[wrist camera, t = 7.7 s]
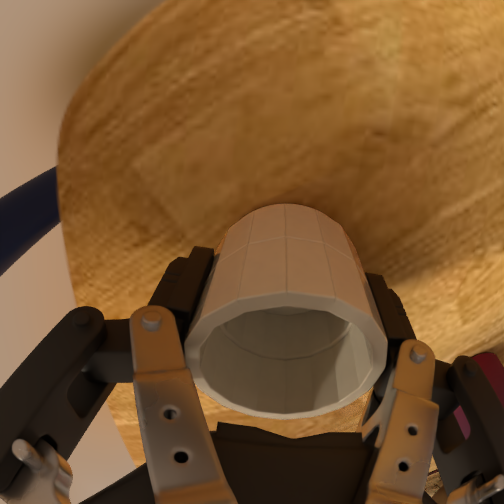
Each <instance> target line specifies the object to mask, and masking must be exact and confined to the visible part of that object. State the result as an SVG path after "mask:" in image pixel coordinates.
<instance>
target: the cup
mask: <svg viewBox="0 0 504 504" xmlns="http://www.w3.org/2000/svg"><path fill="white" fill-rule="evenodd" d="M472 359H474V360H475V361H476V362H477V363H478V364H479V365H480V367H481V369H482V370H483V372H484V374H485V375H486V377H487V379H488V380H489V382H490V384H491V386H492V387H493V389H494V391H495V393H496V395H497V396H498V398H499V400H500V402H501V404H502V406H503V408H504V367H503V366H502V364H501V362H500V361H499V359H498V357H497V356H496V355H495V354H494V353H483V354H479V355H476V356H474V357H472ZM453 413H454V415H455V417H456V419H457V421H458V424H459V426H460V428H461V430H462V432H463V435H464V437H465V439H467V438H468V437H469V435H470V425H469V423H468V420H467V418H466V416H465V414H464V412H463V410H462V408H461V406H459V407H458V408H457V409H456V410H455V411H454V412H453Z"/></svg>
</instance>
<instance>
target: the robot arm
mask: <svg viewBox="0 0 504 504" xmlns="http://www.w3.org/2000/svg"><path fill="white" fill-rule="evenodd" d="M213 258H214V249H211V248H205V247H198V246H194V248H193V250H192V252H191V254H190V256H189V258H184V257H178V258H177V259H175V260H174V261H172V262H171V263H170V264H169V266H168V267H167V269H166V271H165V274H164V275H163V277H162V279H161V281H160V282H159V284H158V286H157V288H156V290H155V292H154V294H153V296H152V297H151V299H150V301H149V303H148V305H147V306H144V307H141V308H139V309H137V310H136V311H135V312H134V313H133V314H132V315H131V317H130V318H129V319H120V320H104V316H103V314H102V313H101V311H99V310H98V309H96V308H94V307H90V306H83V307H78V308H75V309H73V310H72V311H70V312H69V313H68V314H66V316H65V317H64V318H63V319H62V320H61V321H60V322H59V323H58V324H57V325H56V326H55V327H54V328H53V329H52V330H51V331H50V332H49V333H48V335H47V336H46V337H45V338H44V339H43V340H42V341H41V342H40V343H39V344H38V346H37V347H36V348H35V349H34V350H33V351H32V352H31V353H30V354H29V355H28V357H27V358H26V359H25V360H24V361H23V362H22V363H21V365H20V366H19V367H18V368H17V369H16V370H15V372H14V373H13V374H12V375H11V376H10V378H9V379H8V380H7V381H6V382H5V384H4V385H3V386H2V387H1V388H0V498H1V499H3V500H4V501H5V502H6V503H7V504H71V502H70V499H69V489H70V486H71V483H72V479H73V474H72V470H71V467H70V465H69V464H68V462H67V460H68V458H69V457H70V455H71V454H72V452H73V450H74V449H75V447H76V446H77V444H78V442H79V441H80V439H81V438H82V436H83V435H84V433H85V431H86V430H87V428H88V427H89V425H90V424H91V422H92V420H93V419H94V417H95V416H96V414H97V412H98V411H99V410H100V408H101V406H102V405H103V404H104V402H105V401H106V399H107V398H108V396H109V395H110V393H111V391H112V390H113V388H114V387H115V385H116V384H117V383H131V382H133V386H134V393H135V401H136V407H137V414H138V420H139V426H140V432H141V437H142V443H143V448H144V453H145V458H146V463H144V464H143V465H141V466H140V467H138V468H137V469H135V470H134V471H132V472H130V473H129V474H127V475H126V476H124V477H123V478H121V479H119V480H118V481H116V482H115V483H113V484H111V485H110V486H108V487H106V488H105V489H103V490H101V491H100V492H98V493H96V494H95V495H93V496H91V497H89V498H87V499H86V500H84V501H82V502H80V503H79V504H437V503H436V502H435V501H434V500H433V499H432V498H431V497H430V496H429V495H428V494H427V493H426V492H425V491H424V489H425V485H426V481H427V476H428V472H429V468H430V463H431V458H432V455H433V457H434V460H435V463H436V466H437V468H438V471H439V474H440V477H441V480H442V483H443V485H444V488H445V491H446V494H447V497H448V499H447V503H446V504H504V408H503V406H502V404H501V402H500V400H499V398H498V396H497V395H496V393H495V391H494V389H493V387H492V386H491V384H490V382H489V380H488V379H487V377H486V375H485V374H484V372H483V370H482V369H481V367H480V365H479V364H478V363H477V362H476V361H475V360H474V359H472V358H470V357H468V356H458V357H457V358H456V359H455V360H454V362H453V363H452V364H449V363H446V362H443V361H439V360H436V359H435V355H434V353H433V351H432V350H431V348H430V347H429V346H428V345H426V344H425V343H424V342H422V341H419V340H417V339H416V336H415V334H414V331H413V329H412V326H411V324H410V321H409V319H408V317H407V316H406V312H405V309H404V308H403V305H402V302H401V300H400V298H399V297H398V295H397V294H396V293H395V292H394V291H393V290H392V289H389V288H388V287H387V285H386V283H385V280H384V278H383V276H382V275H378V274H372V273H365V275H366V278H367V281H368V284H369V286H370V289H371V292H372V295H373V298H374V301H375V303H376V306H377V309H378V312H379V315H380V318H381V321H382V325H383V328H384V331H385V334H386V337H387V341H388V347H387V361H386V367H385V369H384V371H383V372H382V374H381V375H380V377H379V378H378V380H377V381H376V383H375V384H374V385H373V388H372V390H371V391H370V393H369V395H368V398H367V401H366V404H365V407H364V410H363V413H362V415H361V418H360V421H359V424H358V426H357V429H356V431H355V432H328V433H323V434H318V435H313V436H308V437H303V438H297V439H291V438H287V437H284V436H281V435H278V434H275V433H272V432H268V431H265V430H262V429H260V428H257V427H251V426H243V425H236V424H229V423H223V422H218V424H217V430H216V431H209V429H208V426H207V423H206V420H205V417H204V414H203V410H202V407H201V404H200V400H199V397H198V394H197V390H196V387H195V383H194V380H193V376H192V373H191V370H190V368H189V367H188V368H187V366H186V362H185V356H184V342H185V339H186V336H187V333H188V330H189V327H190V324H191V321H192V318H193V315H194V312H195V309H196V306H197V303H198V300H199V297H200V294H201V292H202V289H203V286H204V283H205V280H206V277H207V275H208V272H209V269H210V266H211V263H212V260H213ZM459 406H461V408H462V410H463V412H464V414H465V416H466V418H467V420H468V423H469V425H470V435H469V437H468V438H467V439H465V437H464V435H463V432H462V430H461V428H460V426H459V424H458V421H457V419H456V417H455V415H454V413H453V412H454V411H455V410H456V409H457V408H458V407H459Z"/></svg>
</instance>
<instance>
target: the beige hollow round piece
mask: <svg viewBox="0 0 504 504" xmlns="http://www.w3.org/2000/svg"><path fill="white" fill-rule="evenodd" d="M387 347H388V341H387V337H386V334H385V331H384V328H383V325H382V321H381V318H380V315H379V312H378V309H377V306H376V303H375V301H374V298H373V295H372V292H371V289H370V286H369V284H368V281H367V278H366V275H365V273H364V270H363V267H362V265H361V262H360V259H359V257H358V254H357V252H356V249H355V247H354V245H353V243H352V242H351V240H350V238H349V237H348V235H347V234H346V232H345V231H344V229H343V228H342V226H340V224H338V223H337V222H335V221H334V220H332V219H331V218H329V217H328V216H327V215H325V214H324V213H322V212H320V211H318V210H316V209H313V208H310V207H307V206H303V205H298V204H275V205H269V206H266V207H262V208H259V209H257V210H255V211H252V212H251V213H249V214H247V215H246V216H244V217H243V218H242V219H240V220H239V221H238V222H236V223H235V224H233V225H232V226H231V227H230V228H229V229H228V231H227V232H226V234H225V236H224V237H223V239H222V241H221V242H220V244H219V246H218V247H217V249H216V252H215V255H214V258H213V260H212V263H211V266H210V269H209V272H208V275H207V277H206V280H205V283H204V286H203V289H202V292H201V294H200V297H199V300H198V303H197V306H196V309H195V312H194V315H193V318H192V321H191V324H190V327H189V330H188V333H187V336H186V339H185V342H184V356H185V362H186V366H187V368H188V367H189V368H190V370H191V373H192V376H193V380H194V382H195V384H196V385H197V387H198V388H199V389H200V390H201V391H202V392H203V393H205V394H206V395H208V396H209V397H211V398H212V399H213V400H215V401H216V402H218V403H219V404H221V405H222V406H224V407H227V408H230V409H232V410H235V411H238V412H241V413H244V414H247V415H250V416H254V417H262V418H271V419H282V420H284V419H285V420H288V419H298V418H307V417H315V416H319V415H322V414H325V413H328V412H331V411H334V410H337V409H340V408H342V407H345V406H346V405H349V404H350V403H352V402H353V401H355V400H356V399H358V398H359V397H361V396H362V395H363V394H365V393H366V392H368V391H369V390H370V389H371V388H372V387H373V385H374V384H375V383H376V381H377V380H378V378H379V377H380V375H381V374H382V372H383V371H384V369H385V367H386V361H387Z"/></svg>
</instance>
